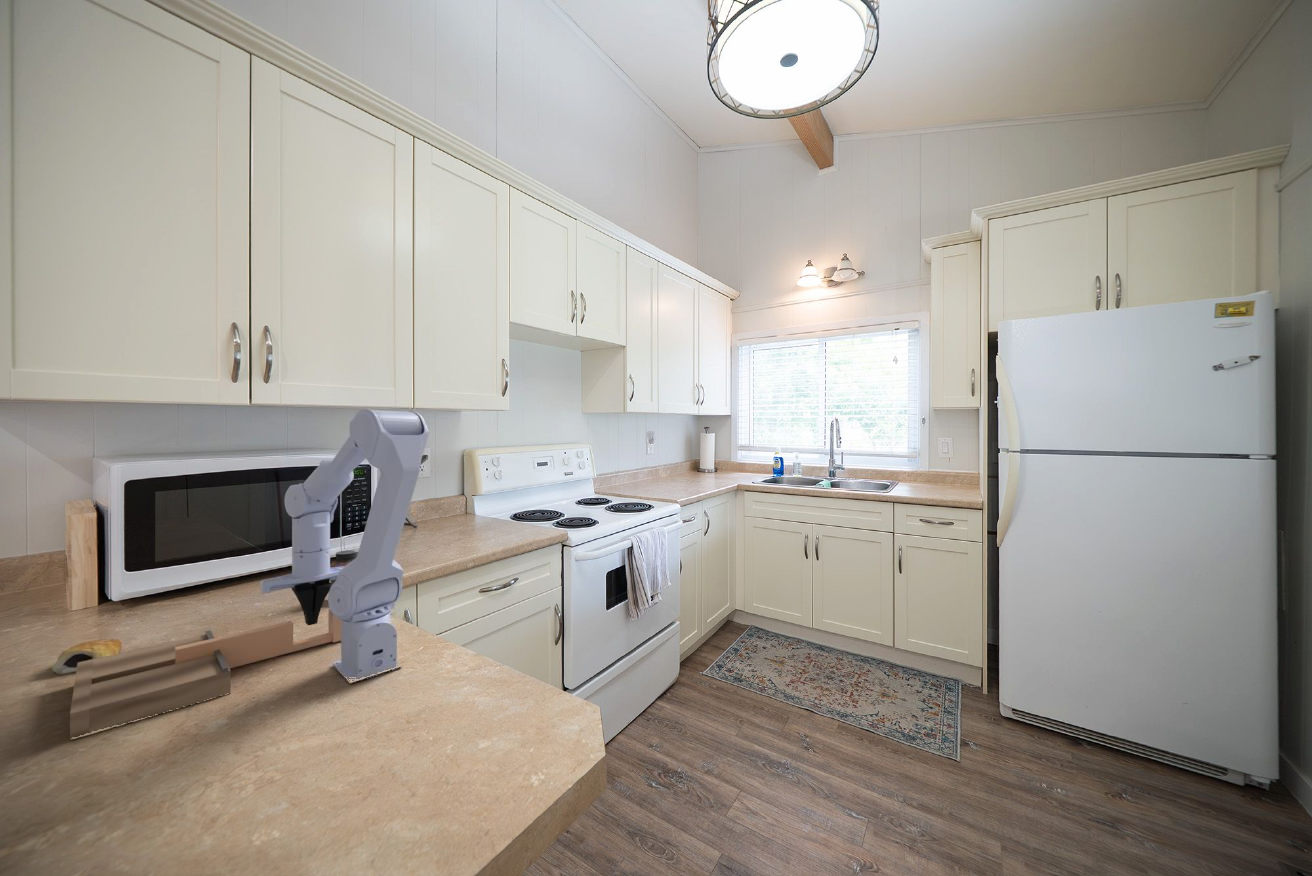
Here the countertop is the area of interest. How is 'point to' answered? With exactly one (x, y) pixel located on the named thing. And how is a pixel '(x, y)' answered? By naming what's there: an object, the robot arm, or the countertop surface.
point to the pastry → (85, 654)
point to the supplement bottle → (343, 560)
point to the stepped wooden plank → (257, 643)
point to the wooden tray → (143, 685)
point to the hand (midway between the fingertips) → (311, 623)
